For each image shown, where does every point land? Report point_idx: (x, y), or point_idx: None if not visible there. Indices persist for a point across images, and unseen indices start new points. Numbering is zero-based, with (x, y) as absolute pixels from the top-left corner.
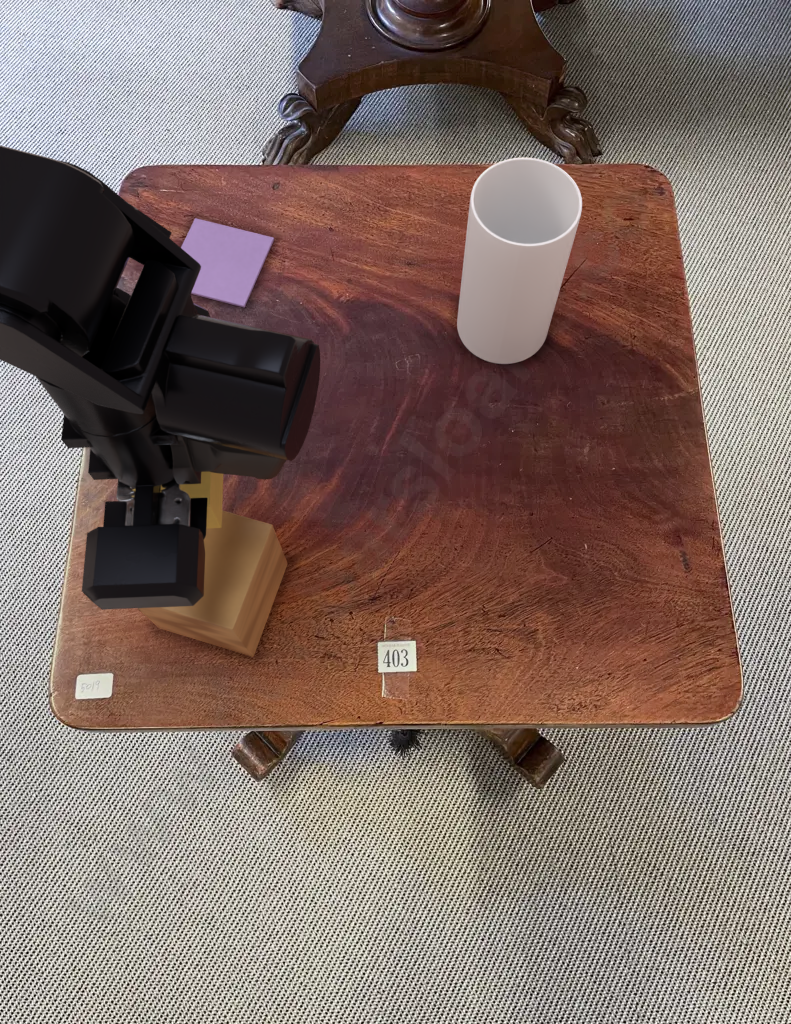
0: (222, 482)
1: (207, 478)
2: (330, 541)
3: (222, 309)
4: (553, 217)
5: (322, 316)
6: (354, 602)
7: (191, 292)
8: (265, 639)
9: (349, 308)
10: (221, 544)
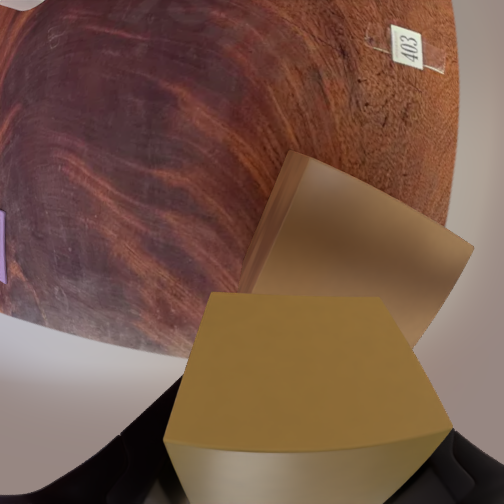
0: (245, 299)
1: (329, 456)
2: (262, 93)
3: (9, 232)
4: None
5: (7, 133)
6: (346, 74)
7: (4, 261)
8: (379, 185)
9: (3, 109)
10: (339, 263)
